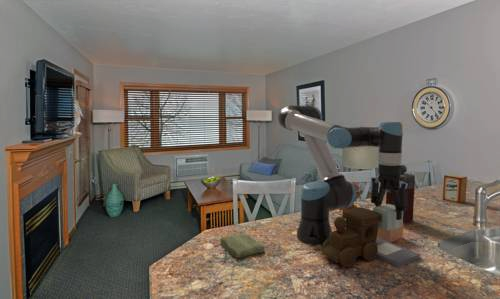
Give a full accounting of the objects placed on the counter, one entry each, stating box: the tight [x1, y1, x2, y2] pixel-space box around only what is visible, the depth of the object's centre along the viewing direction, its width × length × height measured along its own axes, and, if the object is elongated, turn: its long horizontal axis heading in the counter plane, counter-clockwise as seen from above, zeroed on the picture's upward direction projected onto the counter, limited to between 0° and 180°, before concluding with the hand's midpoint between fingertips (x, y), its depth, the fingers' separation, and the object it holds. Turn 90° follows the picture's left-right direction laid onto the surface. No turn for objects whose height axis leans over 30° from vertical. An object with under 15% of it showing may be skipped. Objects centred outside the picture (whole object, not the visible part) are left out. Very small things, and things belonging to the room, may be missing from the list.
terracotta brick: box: [377, 225, 404, 243], centre depth 122 cm, size 9×6×7 cm, turn 120°
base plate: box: [375, 237, 421, 268], centre depth 108 cm, size 13×18×2 cm
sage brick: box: [372, 203, 404, 231], centre depth 107 cm, size 9×6×7 cm, turn 120°
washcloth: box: [220, 233, 265, 259], centre depth 114 cm, size 13×18×3 cm
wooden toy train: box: [321, 207, 382, 268], centre depth 104 cm, size 20×11×17 cm, turn 116°
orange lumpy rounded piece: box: [338, 181, 361, 212], centre depth 152 cm, size 11×11×18 cm
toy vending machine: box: [385, 164, 416, 225], centre depth 142 cm, size 9×11×28 cm
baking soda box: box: [442, 174, 468, 205], centre depth 176 cm, size 10×6×16 cm
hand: (387, 224), depth 107 cm, fingers closed on sage brick, 6 cm apart
